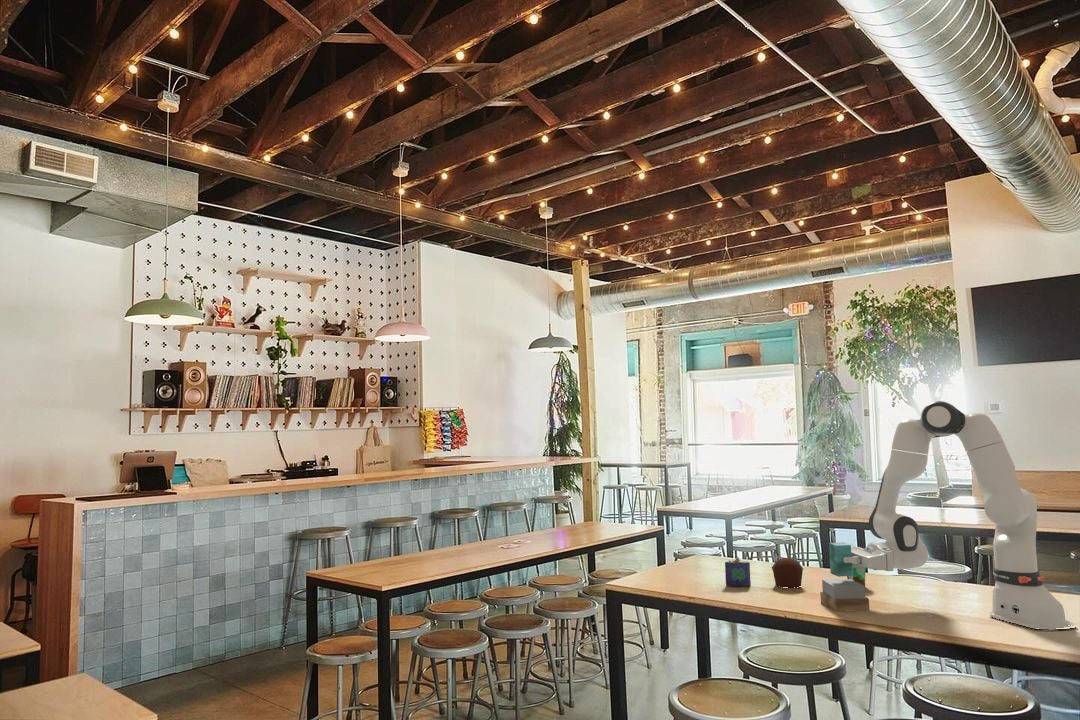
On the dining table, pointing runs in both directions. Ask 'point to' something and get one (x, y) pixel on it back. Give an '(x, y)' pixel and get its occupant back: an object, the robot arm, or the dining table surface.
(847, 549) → the teal block
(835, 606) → the block
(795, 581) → the muffin
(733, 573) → the flask
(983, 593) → the dining table surface
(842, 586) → the tower top
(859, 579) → the food container
